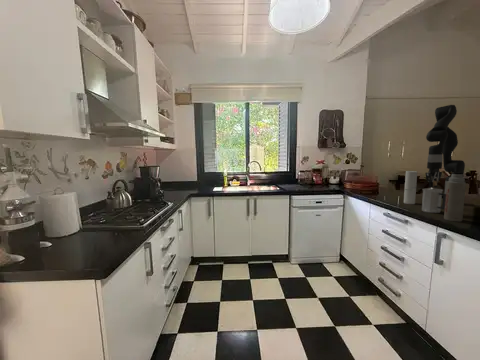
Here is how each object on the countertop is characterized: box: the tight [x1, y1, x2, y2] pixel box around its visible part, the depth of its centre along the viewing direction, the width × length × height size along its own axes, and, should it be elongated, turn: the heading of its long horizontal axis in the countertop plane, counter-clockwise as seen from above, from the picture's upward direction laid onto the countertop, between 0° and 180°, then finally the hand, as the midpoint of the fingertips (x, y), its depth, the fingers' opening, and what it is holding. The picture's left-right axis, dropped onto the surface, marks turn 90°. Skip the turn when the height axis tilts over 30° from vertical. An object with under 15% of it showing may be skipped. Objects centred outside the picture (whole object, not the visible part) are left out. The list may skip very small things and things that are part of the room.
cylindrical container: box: [403, 170, 418, 205], centre depth 177 cm, size 7×7×25 cm
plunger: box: [431, 181, 438, 190], centre depth 152 cm, size 5×5×18 cm
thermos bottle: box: [443, 172, 467, 222], centre depth 133 cm, size 8×8×28 cm
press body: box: [421, 187, 446, 214], centre depth 151 cm, size 9×12×15 cm
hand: (432, 187), depth 152 cm, fingers closed on plunger, 3 cm apart
